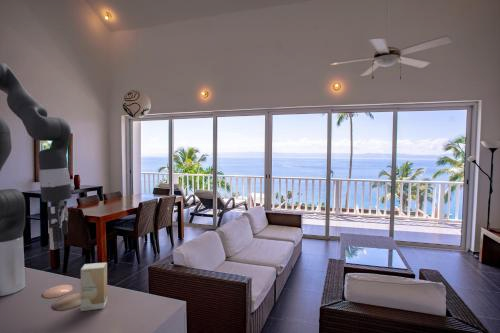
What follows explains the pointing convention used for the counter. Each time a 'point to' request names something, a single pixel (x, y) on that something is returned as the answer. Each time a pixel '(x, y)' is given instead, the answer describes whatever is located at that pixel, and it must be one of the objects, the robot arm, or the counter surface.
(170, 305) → the counter surface
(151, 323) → the counter surface
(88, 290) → the skincare box
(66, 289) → the peach glossy dome
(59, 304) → the walnut coaster
